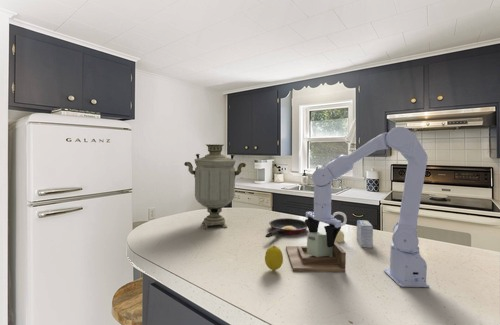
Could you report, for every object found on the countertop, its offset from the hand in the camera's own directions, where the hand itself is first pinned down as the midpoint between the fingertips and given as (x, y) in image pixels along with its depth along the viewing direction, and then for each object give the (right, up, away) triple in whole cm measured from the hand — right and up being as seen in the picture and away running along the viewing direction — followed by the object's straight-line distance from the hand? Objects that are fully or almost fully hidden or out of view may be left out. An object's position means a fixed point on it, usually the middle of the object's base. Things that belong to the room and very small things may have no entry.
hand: (321, 242), depth 87 cm
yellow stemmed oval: (+12, -5, +19) cm, 23 cm away
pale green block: (-1, -4, 0) cm, 4 cm away
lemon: (-17, -6, -8) cm, 20 cm away
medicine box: (+21, -5, +15) cm, 27 cm away
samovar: (-41, -4, +42) cm, 59 cm away
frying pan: (-10, -5, +27) cm, 29 cm away
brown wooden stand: (-3, -6, 0) cm, 6 cm away
